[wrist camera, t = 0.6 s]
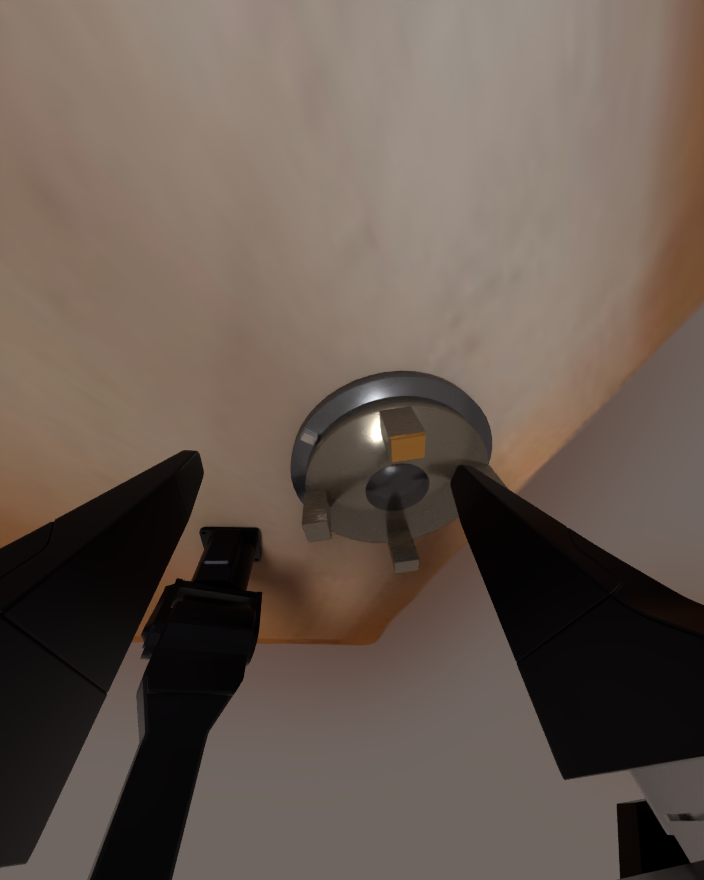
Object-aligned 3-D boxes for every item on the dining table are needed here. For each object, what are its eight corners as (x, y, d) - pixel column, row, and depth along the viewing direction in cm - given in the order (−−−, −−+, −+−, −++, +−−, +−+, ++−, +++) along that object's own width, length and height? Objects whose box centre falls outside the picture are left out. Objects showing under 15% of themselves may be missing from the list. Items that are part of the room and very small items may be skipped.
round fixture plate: (465, 515, 31) (491, 562, 26) (323, 537, 31) (323, 587, 26) (492, 381, 21) (541, 417, 16) (285, 412, 21) (274, 456, 16)
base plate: (445, 525, 34) (452, 540, 33) (290, 523, 31) (288, 539, 30) (521, 383, 23) (538, 393, 22) (293, 357, 20) (290, 367, 18)
